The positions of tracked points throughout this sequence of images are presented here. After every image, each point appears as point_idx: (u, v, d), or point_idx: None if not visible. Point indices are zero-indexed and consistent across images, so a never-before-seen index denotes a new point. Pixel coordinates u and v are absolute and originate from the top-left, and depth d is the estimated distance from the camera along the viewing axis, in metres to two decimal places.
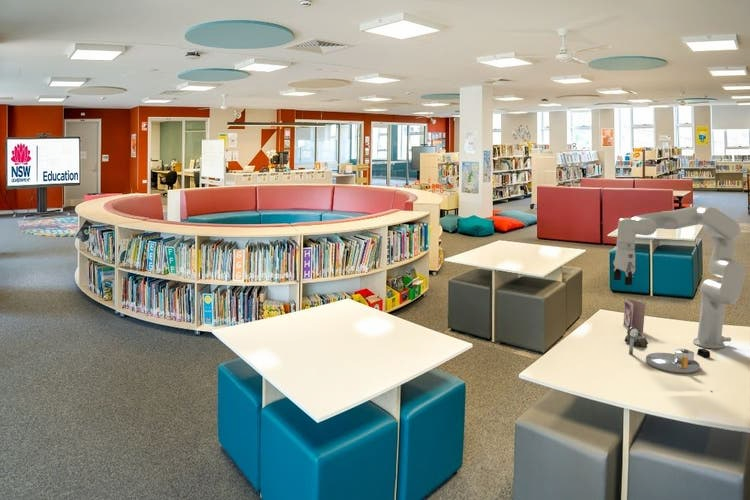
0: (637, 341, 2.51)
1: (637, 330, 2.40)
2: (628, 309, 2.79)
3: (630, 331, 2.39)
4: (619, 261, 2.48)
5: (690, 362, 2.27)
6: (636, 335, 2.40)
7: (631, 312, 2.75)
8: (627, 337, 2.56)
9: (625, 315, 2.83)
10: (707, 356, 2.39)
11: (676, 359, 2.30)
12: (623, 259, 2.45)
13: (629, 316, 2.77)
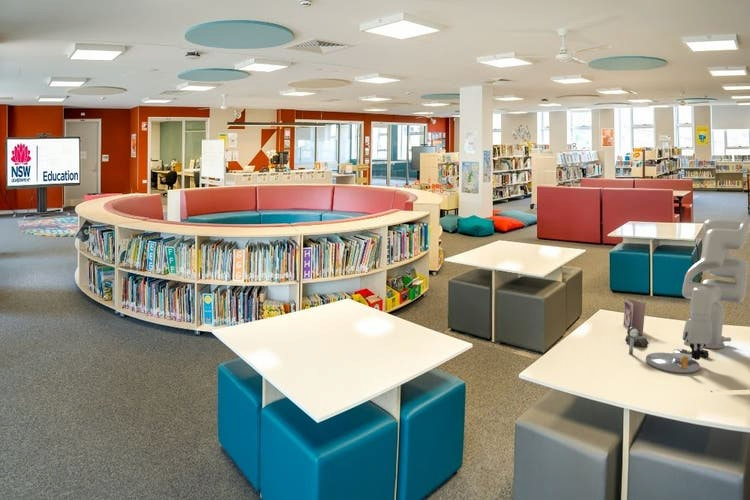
0: (637, 341, 2.51)
1: (637, 330, 2.40)
2: (628, 309, 2.79)
3: (630, 331, 2.39)
4: (702, 335, 2.26)
5: (688, 362, 2.27)
6: (636, 335, 2.40)
7: (631, 312, 2.75)
8: (627, 337, 2.56)
9: (625, 315, 2.83)
10: (706, 356, 2.38)
11: (674, 359, 2.30)
12: (709, 331, 2.26)
13: (629, 316, 2.77)
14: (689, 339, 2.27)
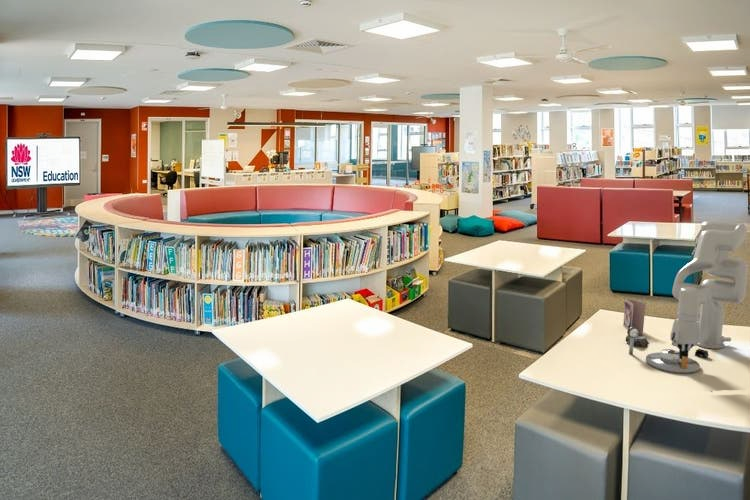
0: (637, 341, 2.51)
1: (637, 330, 2.40)
2: (628, 309, 2.79)
3: (630, 331, 2.39)
4: (689, 335, 2.26)
5: (675, 362, 2.27)
6: (636, 335, 2.40)
7: (631, 312, 2.75)
8: (628, 337, 2.56)
9: (625, 315, 2.83)
10: (706, 356, 2.38)
11: (662, 359, 2.30)
12: (697, 331, 2.26)
13: (629, 316, 2.77)
14: (676, 339, 2.27)
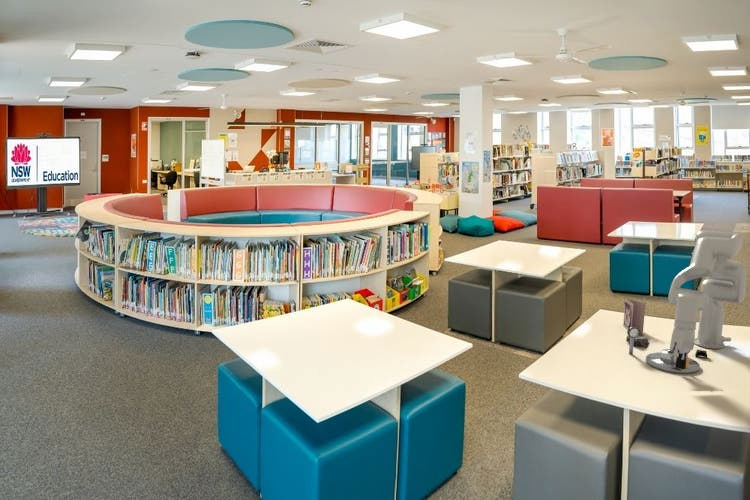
0: (637, 341, 2.51)
1: (637, 330, 2.40)
2: (628, 309, 2.79)
3: (630, 331, 2.39)
4: (689, 343, 2.17)
5: None
6: (636, 335, 2.40)
7: (631, 312, 2.75)
8: (628, 337, 2.56)
9: (625, 315, 2.83)
10: (706, 356, 2.38)
11: (662, 359, 2.29)
12: (693, 337, 2.18)
13: (629, 316, 2.77)
14: (681, 349, 2.15)
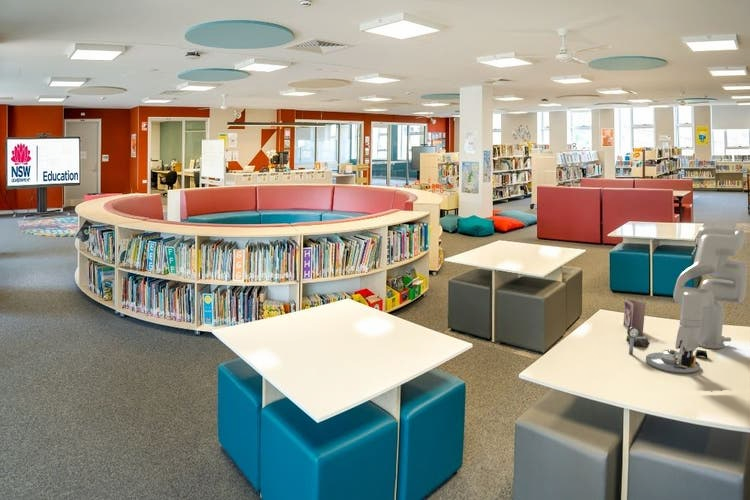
0: (637, 341, 2.51)
1: (637, 330, 2.40)
2: (628, 309, 2.79)
3: (630, 331, 2.39)
4: (695, 341, 2.19)
5: (679, 362, 2.27)
6: (636, 335, 2.40)
7: (631, 312, 2.75)
8: (628, 337, 2.56)
9: (625, 315, 2.83)
10: (706, 356, 2.38)
11: (667, 361, 2.27)
12: (699, 335, 2.20)
13: (629, 316, 2.77)
14: (686, 347, 2.17)
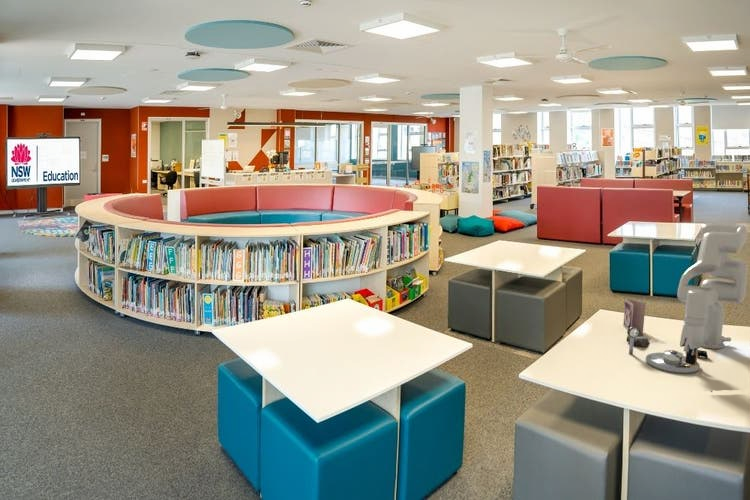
0: (638, 341, 2.51)
1: (637, 330, 2.40)
2: (628, 309, 2.79)
3: (630, 331, 2.39)
4: (699, 339, 2.21)
5: None
6: (636, 335, 2.40)
7: (631, 312, 2.75)
8: (628, 337, 2.56)
9: (625, 315, 2.83)
10: (706, 356, 2.38)
11: (674, 363, 2.26)
12: (703, 333, 2.23)
13: (629, 316, 2.77)
14: (691, 345, 2.19)
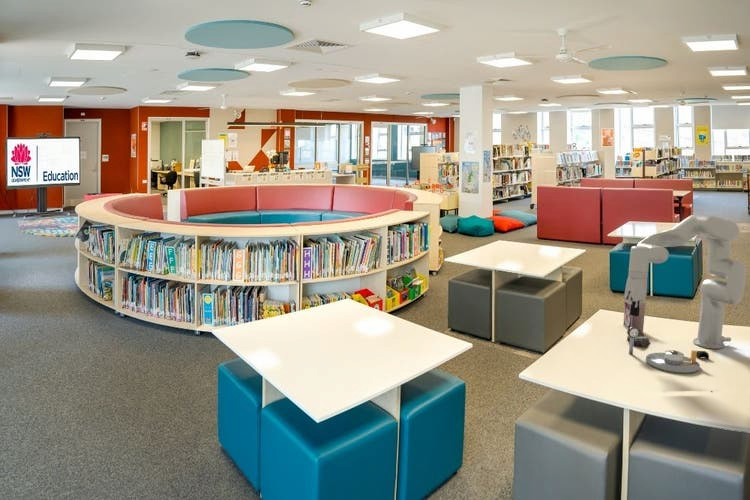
0: (638, 341, 2.51)
1: (637, 330, 2.40)
2: (628, 309, 2.79)
3: (630, 331, 2.39)
4: (642, 291, 2.36)
5: None
6: (636, 335, 2.40)
7: None
8: (629, 337, 2.56)
9: (625, 315, 2.83)
10: None
11: (676, 363, 2.26)
12: (646, 287, 2.37)
13: (629, 316, 2.77)
14: (633, 297, 2.34)
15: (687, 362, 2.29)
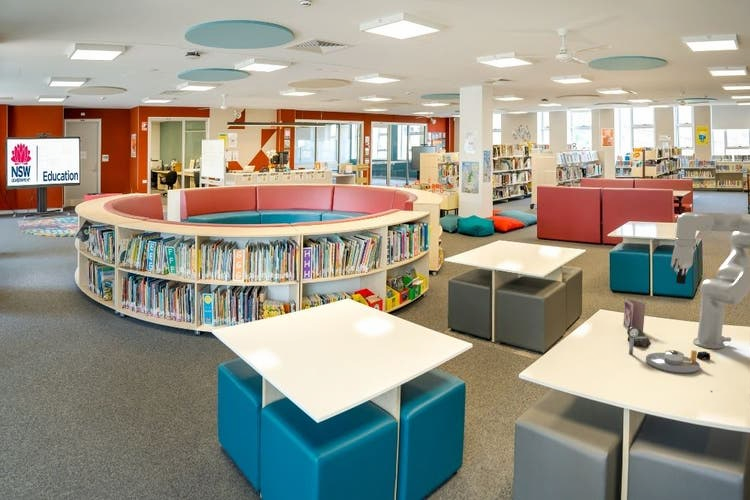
0: (638, 341, 2.51)
1: (637, 330, 2.40)
2: (628, 309, 2.79)
3: (630, 331, 2.39)
4: (689, 259, 2.40)
5: None
6: (636, 335, 2.40)
7: (631, 312, 2.75)
8: (629, 337, 2.56)
9: (625, 315, 2.83)
10: None
11: (676, 363, 2.26)
12: (692, 255, 2.41)
13: (629, 316, 2.77)
14: (681, 265, 2.38)
15: (687, 362, 2.29)
